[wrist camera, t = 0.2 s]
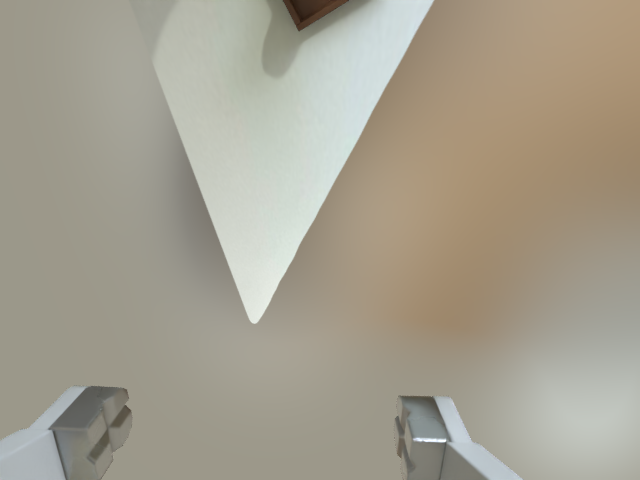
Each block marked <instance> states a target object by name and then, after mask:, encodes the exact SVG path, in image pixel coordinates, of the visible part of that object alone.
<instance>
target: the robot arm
mask: <svg viewBox="0 0 640 480" xmlns="http://www.w3.org/2000/svg"><path fill="white" fill-rule="evenodd" d="M128 399H129V397H128V392H127V390H126V389H124V388H117V387H100V386H72V387H70V388H68V389H67V390H66V391H65V392H64V393H63V394H62V395H61V396H60V397H59V398H58V399H57V400H56V401H55V402H54V403H53V404H52V405H51V406H50V407H49V408H48V409H47V410H46V411H45V412H44V413H43V414H42V415H41V416H40V417H39V418H38V419H37V420H36V421H35V422H34V423H33V424H32V425H31V426H30V427H29V428H28V429H21V430H20V431H17V432H15V433H13V434H11V435H9V436H8V437H5V438H3V439H2V440H0V480H101V478H102V477H103V475H104V474H105V472H106V471H107V469H108V468H109V466H110V464H111V463H112V461H113V452H114V451H116V450H117V449H118V448H120V447H121V446H123V444H124V442H125V441H126V439H127V438H128V436H129V433H130V429H131V427H132V412H131V410H130V409H129V408H128V407H127V406H126V405H125V403H126V402H127V401H128ZM396 407H397V411H398V416H397V417H396V418H395V424H394V439H395V446H396V450H397V454H398V456H399V457H400V458H401V468H400V469H401V474H402V478H403V480H523V479H522V478H521V477H520V476H518V475H517V474H516V473H515V472H513V471H512V470H511V469H510V468H508V467H507V466H506V465H505V464H503V463H502V462H501V461H500V460H498V459H497V458H496V457H495V456H493V455H492V454H491V453H490V452H488V451H487V450H486V449H485V448H483V447H482V446H481V445H480V444H479V443H472V441H471V439H470V437H469V434H468V432H467V431H466V428H465V426H464V424H463V422H462V420H461V418H460V416H459V413H458V411H457V409H456V407H455V405H454V403H453V401H452V399H451V398H450V397H449V396H432V397H431V396H398V398H397V404H396Z"/></svg>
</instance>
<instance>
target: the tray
mask: <svg viewBox="0 0 640 480" xmlns="http://www.w3.org/2000/svg"><path fill="white" fill-rule="evenodd" d="M283 1H284V3H285V5H286V7H287V9H288V11H289V13H290V15H291V17H292V19H293V21H294V23H295V25H296V27H297V29H298V31H300V30H302V29H303V28H305V27H307V26H308V25H310V24H312V23H313V22H315V21H316V20H318V19H320V18H321V17H323V16H325V15H326V14H328V13H329V12H331V11H333V10H334V9H336V8H338V7H339V6H341V5H343V4H344V3H346V2H347V1H349V0H283Z"/></svg>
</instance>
